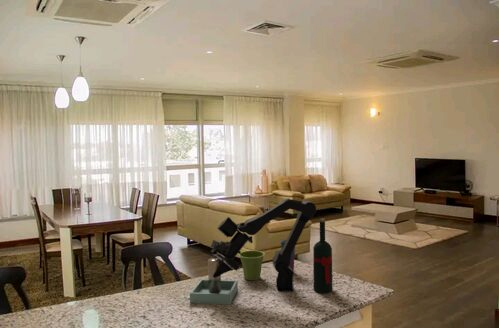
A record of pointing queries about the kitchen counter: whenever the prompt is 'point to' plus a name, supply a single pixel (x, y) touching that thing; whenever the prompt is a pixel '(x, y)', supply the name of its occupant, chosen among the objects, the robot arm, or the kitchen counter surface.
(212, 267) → the canister
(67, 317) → the kitchen counter surface
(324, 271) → the wine bottle
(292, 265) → the cup
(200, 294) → the tray
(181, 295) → the kitchen counter surface
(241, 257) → the plant pot
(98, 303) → the kitchen counter surface
